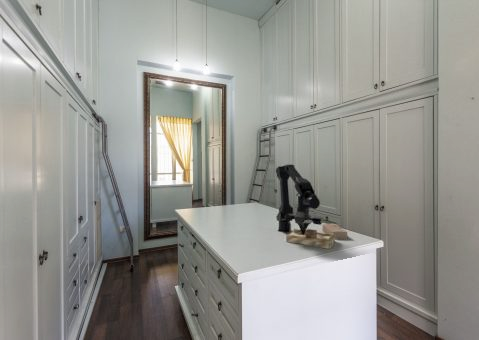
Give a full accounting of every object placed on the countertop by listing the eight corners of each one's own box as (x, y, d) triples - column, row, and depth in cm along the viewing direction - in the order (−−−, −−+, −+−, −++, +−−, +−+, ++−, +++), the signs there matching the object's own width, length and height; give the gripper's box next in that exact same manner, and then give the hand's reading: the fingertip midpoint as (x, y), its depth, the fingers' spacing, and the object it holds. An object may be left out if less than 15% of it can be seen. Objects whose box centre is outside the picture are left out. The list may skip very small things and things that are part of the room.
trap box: (286, 241, 123) (286, 232, 123) (294, 235, 134) (294, 227, 134) (330, 248, 111) (330, 239, 111) (334, 241, 122) (334, 232, 122)
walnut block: (305, 238, 119) (305, 231, 119) (308, 236, 123) (308, 228, 123) (314, 240, 117) (314, 232, 117) (316, 237, 120) (316, 230, 120)
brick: (348, 239, 126) (348, 230, 126) (332, 239, 126) (332, 231, 126) (335, 231, 143) (335, 223, 143) (321, 231, 143) (321, 223, 143)
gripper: (280, 206, 119) (280, 236, 120) (318, 209, 110) (318, 242, 110) (288, 203, 129) (288, 231, 129) (323, 206, 119) (323, 236, 119)
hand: (303, 235), depth 122 cm, fingers closed
